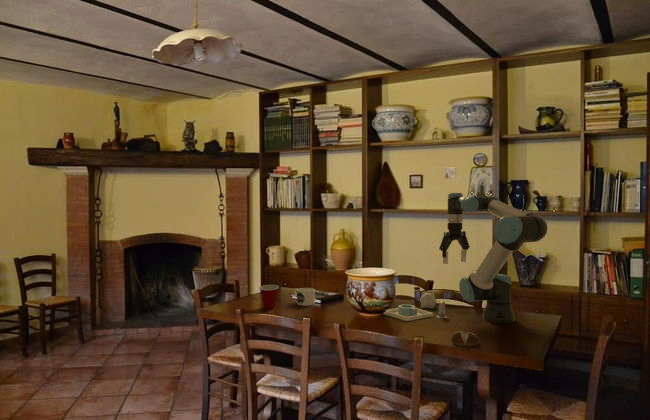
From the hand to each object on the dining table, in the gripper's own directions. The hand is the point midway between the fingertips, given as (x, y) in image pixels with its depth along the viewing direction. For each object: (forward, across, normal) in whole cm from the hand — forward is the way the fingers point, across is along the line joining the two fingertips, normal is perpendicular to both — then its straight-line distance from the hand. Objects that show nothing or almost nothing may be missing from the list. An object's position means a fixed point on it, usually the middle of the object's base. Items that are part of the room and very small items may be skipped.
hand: (454, 262), depth 269 cm
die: (+27, +3, -16) cm, 31 cm away
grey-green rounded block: (+26, +24, -9) cm, 36 cm away
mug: (+27, +54, -62) cm, 87 cm away
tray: (+27, +24, -9) cm, 37 cm away
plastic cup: (+27, +76, -62) cm, 102 cm away
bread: (+27, +36, +39) cm, 60 cm away
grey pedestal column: (+27, +12, +3) cm, 29 cm away
